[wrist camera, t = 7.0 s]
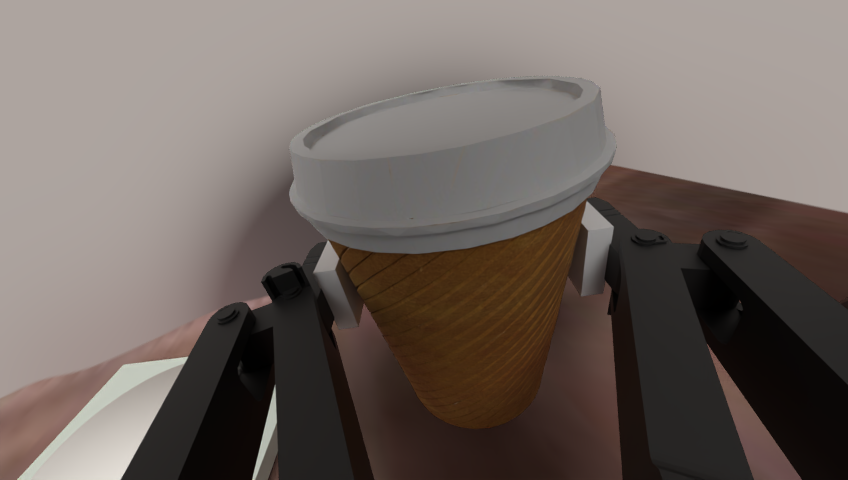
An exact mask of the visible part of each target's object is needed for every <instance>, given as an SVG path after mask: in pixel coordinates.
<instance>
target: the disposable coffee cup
mask: <svg viewBox="0 0 848 480" xmlns="http://www.w3.org/2000/svg"><path fill="white" fill-rule="evenodd" d="M616 148H617V146H616V140H615V134H614V133H613V132H612V131H611V130H609V129H608V128H607V127H606V126H605V123H604V115H603V107H602V99H601V90H600V87H599V86H597V85H596V84H595V83H594V82H592V81H589V80H585V79H581V78H572V77H560V76H529V77H513V78H502V79H492V80H486V81H478V82H471V83H464V84H457V85H451V86H446V87H440V88H436V89H430V90H425V91H420V92H415V93H411V94H406V95H402V96H399V97H395V98H391V99H387V100H383V101H379V102H375V103H372V104H368V105H365V106H362V107H359V108H356V109H352V110H350V111H347V112H343V113H340V114H338V115H335V116H333V117H330V118H327V119H325V120H323V121H321V122H318V123H317V124H314V125H313V126H310V127H309V128H307V129H305V130H303V131H302V132H300V133H299V134H298V135H296V136H295V137H294V138H293V139H292V141H291V142H290V149H289V150H290V155H291V161H292V167H293V173H294V179H295V180H294V181H293V183H292V186H291V188H290V192H289V196H290V200H291V203H292V204H293V206H294V207H295V209H296V210H297V212H298V213H299V215H300V216H302V217H303V218H305V219H306V220H308V221H309V222H311V224H312V226H314V227H315V228H316V229H317V230H318V231H319V232H320V233H321V234H322V235H323V236H324V237H325V238H326V239H328V240H329V242H330V244H331V245H332V247H333V249H334V251H335V252H336V254H337V256H338V257H339V259H340V261H341V263H342V265H343V266H344V268H345V270H346V271H347V273H348V275H349V277H350V279H351V280H352V282H353V284H354V285H355V287H356V288H358V289H357V292H358V293H359V295H360V296H361V298H362V299H363V300H365V301H364V303H365V305H366V307H367V308H368V310H369V312H371V315H372V317H373V319H374V320H375V322H376V323H377V326H378V328H379V329H380V331H381V332H382V334H383V337H384V338H385V340H386V341H387V343H388V344H389V348H390V349H391V350H392V352H393V353H394V356H395V357H396V359H397V360H398V362H399V365H400V366H401V368H402V369H403V372H404V373H405V375H406V376H407V378H408V380H409V382H410V383H411V385H412V387H413V389H414V391H415V393H416V395H417V396H418V398H419V399H420V401H421V402H422V403H423V405H424V406H425V407H426V408H427V409H428V410H429V411H430V412H431V413H432V414H433V415H434V416H436V417H438V418H439V419H441V420H443V421H445V422H446V423H449V424H452V425H455V426H458V427H463V428H471V429H481V428H491V427H495V426H498V425H502V424H505V423H506V422H508V421H510V420H512V419H513V418H515V417H517V416H519V415H520V414H521V413H522V412H523V411H524V410H525V409H526V408H527V407H528V406H529V405H530V404H531V403H532V401H533V400H534V398H535V396H536V394H537V392H538V389H539V387H540V383H541V378H542V374H543V370H544V366H545V363H546V360H547V356H548V351H549V348H550V343H551V339H552V335H553V332H554V329H555V324H556V321H557V317H558V312H559V308H560V303H561V299H562V295H563V291H564V288H565V284H566V280H567V276H568V273H569V269H570V265H571V262H572V257H573V253H574V248H575V244H576V241H577V237H578V234H579V230H580V226H581V222H582V218H583V214H584V211H585V207H586V202H587V198H588V196H590V195H591V194H592V193H593V191H594V189H595V187H596V185H597V183H598V181H599V179H600V177H601V175H602V174H603V173H604V171H605V170H606V169H607V168H608V167H609V165H610V164H611V163H612V160H613V157H614V154H615V151H616Z"/></svg>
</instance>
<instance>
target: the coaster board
mask: <svg viewBox="0 0 848 480" xmlns="http://www.w3.org/2000/svg"><path fill="white" fill-rule="evenodd" d="M187 358H188V357H184V358H175V359H167V360H159V361H150V362H142V363H134V364H126V365H123V366H122V367H121V368H120V369H119V370H118V371H117V372H116V374H115V375H114V376H113V377H112V378H111V379H110V380H109V381H108V382H107V383H106V384H105V385H104V387H103V388H102V389H101V390H100V391H99V392H98V393H97V394H96V395H95V396H94V397H93V398H92V400H91V401H90V402H89V403H88V404H87V405H86V406H85V407H84V408H83V409H82V410H81V411H80V412H79V414H78V415H77V416H76V417H75V418H74V419H73V420H72V421H71V422H70V423H69V424H68V425H67V427H66V428H65V429H64V430H63V431H62V432H61V433H60V434H59V435H58V436H57V437H56V438H55V440H54V441H53V442H52V443H51V444H50V445H49V446H48V447H47V448H46V449H45V450H44V451H43V453H42V454H41V455H40V456H39V457H38V458H37V459H36V460H35V461H34V462H33V463H32V464H31V465H30V467H29V468H28V469H27V470H26V471H25V472H24V473H23V474H22V475H21V476H20V477H19V478H18V480H121V478H122V476H123V474H124V473H125V471H126V469H127V467H128V465H129V464H130V462H131V460H132V458H133V456H134V454H135V453H136V451H137V449H138V447H139V445H140V444H141V442H142V440H143V438H144V436H145V435H146V433H147V431H148V429H149V427H150V425H151V424H152V422H153V420H154V418H155V416H156V415H157V413H158V411H159V409H160V407H161V406H162V404H163V402H164V400H165V398H166V396H167V395H168V393H169V391H170V389H171V387H172V386H173V384H174V382H175V380H176V378H177V376H178V375H179V373H180V371H181V369H182V367H183V366H184V364H185V362H186V360H187ZM277 452H278V440H277V414H276V389H275V387H274V391H273V396H272V400H271V404H270V408H269V412H268V416H267V420H266V425H265V429H264V433H263V437H262V441H261V445H260V449H259V454H258V458H257V462H256V466H255V470H254V474H253V478H252V480H268V478H269V475H270V472H271V469H272V467H273V464H274V461H275V458H276V455H277Z"/></svg>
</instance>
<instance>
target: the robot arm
mask: <svg viewBox="0 0 848 480" xmlns="http://www.w3.org/2000/svg"><path fill="white" fill-rule="evenodd" d="M568 277H569V278H570V280H571V281H572V283H573V285H574V286H575V288H576V289H577V291H578V292H579V294H580V296H588V295H595V294H602V293H603V291H604V285H605V280H606V282H607V283H608V284H609V285H610V287H611V288H612V291H611V297H610V302H609V308H608V313H607V315H611V318H612V332H613V346H614V361H615V375H616V389H617V404H618V418H619V432H620V447H621V461H622V475H623V480H754V479H753V476H752V473H751V470H750V467H749V465H748V462H747V459H746V456H745V453H744V450H743V447H742V444H741V441H740V438H739V436H738V433H737V430H736V427H735V424H734V421H733V418H732V415H731V412H730V410H729V407H728V404H727V401H726V398H725V395H724V392H723V389H722V386H721V384H720V381H719V378H718V375H717V372H716V369H715V366H714V363H713V360H712V358H711V355H710V352H709V349H708V346H707V344H708V345H709V347H710V348H711V350H712V351H713V353H714V354H715V355H716V357H717V358H718V360H719V361H720V363H721V364H722V366H723V367H724V368H725V370H726V371H727V373H728V374H729V376H730V377H731V378H732V380H733V381H734V383H735V384H736V386H737V387H738V388H739V390H740V391H741V393H742V394H743V396H744V397H745V399H746V400H747V401H748V403H749V404H750V406H751V407H752V409H753V410H754V411H755V413H756V414H757V416H758V417H759V419H760V420H761V421H762V423H763V424H764V426H765V427H766V429H767V430H768V431H769V433H770V434H771V436H772V437H773V439H774V440H775V442H776V443H777V444H778V446H779V447H780V449H781V450H782V452H783V453H784V454H785V456H786V457H787V459H788V460H789V462H790V463H791V464H792V466H793V467H794V469H795V470H796V472H797V473H798V475H799V476H800V477H801V479H802V480H848V297H847V298H845V299H844V300H842V301H840V302H837V301H836V300H835V299H834V298H832V297H831V296H830V295H828V294H827V293H826V292H825V291H823V290H822V289H821V288H819V287H818V286H817V285H816V284H814V283H813V282H812V281H811V280H809V279H808V278H807V277H805V276H804V275H803V274H802V273H800V272H799V271H798V270H796V269H795V268H794V267H793V266H791V265H790V264H789V263H787V262H786V261H785V260H784V259H782V258H781V257H780V256H779V255H777V254H776V253H775V252H773V251H772V250H771V249H770V248H768V247H767V246H766V245H764V244H763V243H762V242H761V241H759V240H758V239H756V238H754V237H752V236H750V235H747V234H744V233H742V232H738V231H733V230H715V231H709V232H707V233H705V234H704V235H703V237H702V240H701V243H700V244H679V243H672V242H671V240H670V239H669V238H668V237H667V236H666V235H664V234H662V233H660V232H657V231H654V230H648V229H638V228H637V227H636V226H635V225H634V224H632V223H631V222H630V221H629V220H628V219H627V218H625V217H624V216H623V215H621V213H620V212H618V211H617V210H616V209H615V208H614V207H613V206H611V205H610V204H609V203H608V202H606V201H604V200H601V199H599V198H596V197H595V198H588V199H587V202H586V207H585V211H584V214H583V218H582V222H581V226H580V230H579V234H578V237H577V241H576V244H575V248H574V253H573V257H572V262H571V265H570V269H569V273H568ZM261 283H262V284H263V286H264V288H265V289H266V291H267V293H268V295H269V296H270V298H271V300H272V303H271V304H268V305H266V306H263V307H260V308H257V309H255V310H252V311H251V309H250V308H249V306H248V305H247V304H246V303H243V302H239V303H233V304H230V305H228V306H225V307H224V308H221V309H220V310H218V311H217V312H216V313H215V314H214V315H213V316H212V317H211V318H210V319H209V321H208V322H207V324H206V326H205V328H204V329H203V331H202V333H201V335H200V337H199V338H198V340H197V342H196V344H195V346H194V347H193V349H192V351H191V353H190V355H189V357H188V358H187V360H186V362H185V364H184V366H183V367H182V369H181V371H180V373H179V375H178V376H177V378H176V380H175V382H174V384H173V386H172V387H171V389H170V391H169V393H168V395H167V396H166V398H165V400H164V402H163V404H162V406H161V407H160V409H159V411H158V413H157V415H156V416H155V418H154V420H153V422H152V424H151V425H150V427H149V429H148V431H147V433H146V435H145V436H144V438H143V440H142V442H141V444H140V445H139V447H138V449H137V451H136V453H135V454H134V456H133V458H132V460H131V462H130V464H129V465H128V467H127V469H126V471H125V473H124V474H123V476H122V478H121V480H252V478H253V474H254V470H255V466H256V462H257V458H258V454H259V449H260V445H261V441H262V437H263V433H264V429H265V425H266V420H267V416H268V412H269V408H270V404H271V400H272V396H273V391H274V387H275V389H276V414H277V440H278V466H279V480H374V477H373V473H372V470H371V466H370V462H369V459H368V455H367V451H366V448H365V444H364V440H363V437H362V433H361V429H360V426H359V422H358V418H357V415H356V411H355V407H354V404H353V400H352V397H351V393H350V389H349V386H348V382H347V378H346V375H345V371H344V367H343V364H342V360H341V356H340V353H339V349H338V345H337V342H336V338H335V335H334V333H333V331H332V329H331V328H332V325H333V321H334V320H335V322H336V324H337V326H338V328H339V330H340V329H347V328H354V327H359V322H360V318H361V313H362V308H363V304H364V300H363V299H362V298H361V296H360V295H359V293H358V292H357V289H358V288H356V287H355V285H354V284H353V282H352V280H351V279H350V277H349V275H348V273H347V271H346V270H345V268H344V266H343V265H342V263H341V261H340V259H339V257H338V256H337V254H336V252H335V251H334V249H333V247H332V245H331V244H330V242H329V240H328V241H327V242H322V243H318V244H317V245H315V246H314V247H313V248H312V249H311V250H310V252H309V253H308V255H307V258H306V260H305V261H304V263H303V266H301V265H300V264H299V263H295V262H291V263H285V264H282V265H279V266H277V267H275V268H273V269H272V270H270V271H269V272H267V273H266V275H265V276H264V277H263V279H262V281H261ZM739 300H740V301H741V303H740V302H739Z"/></svg>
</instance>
